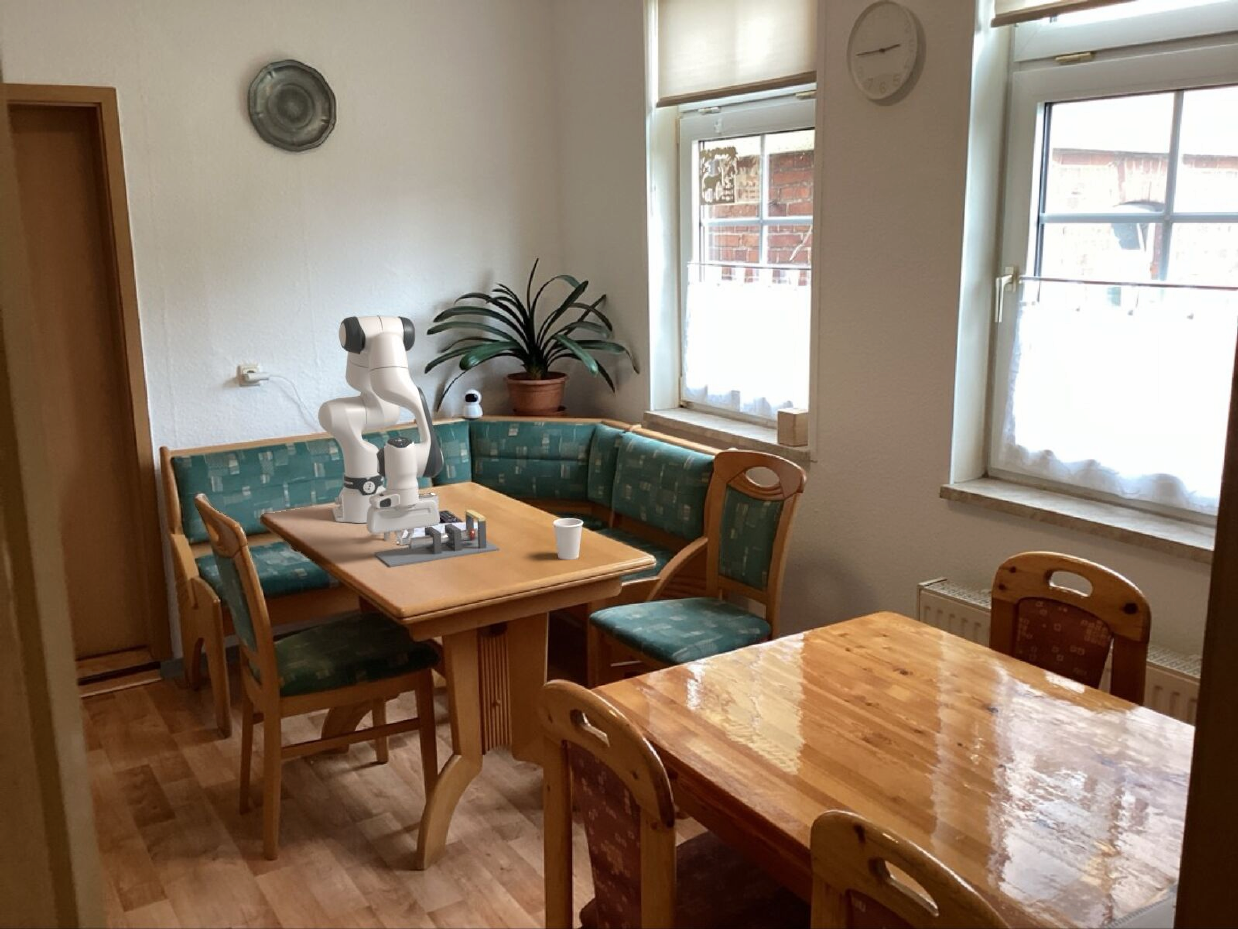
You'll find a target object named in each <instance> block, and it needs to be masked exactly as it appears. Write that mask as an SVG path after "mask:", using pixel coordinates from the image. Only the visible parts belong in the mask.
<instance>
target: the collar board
mask: <svg viewBox="0 0 1238 929" xmlns="http://www.w3.org/2000/svg"><path fill="white" fill-rule="evenodd" d="M464 513H465V514H464V515H465V530H468V529H471V528H473V529H475V522H474V520H476V522H477V530H478V539H477V540H474V541H464V542H461V530H462V529H461V528H459V527H457V526H455V525H454V524H452V523H448V524H444V533H448V532H453V543H450V544H444V545H441V533H442V532H440V531H439V530H437V529H435V527H434V526H429V527H424V536H427V535H433V546H431V547H424V548H418V549H410V548H409V546H408V547H401V548H396V549H395V548H393V549H388V550H387V549H386V550H382V551H380V550H379V551H375V552H373V555H375V557H377V558H378V559H379V560H380V561H382V562H383V563H384V564H385V565H386V566H387V567H389V568H394V567H400V566H404V565H407V566H408V565H413V564H418V563H423V562H431V561H438V560H444V559H450V558H456V557H463V556H469V555H476V554H481V553H487V552H488V553H489V552H494V551H499V550H500V547H498V546H497V545H495V544H493V543H492V542H490V541H488V540H487V523H486V521H487V520H486V516H484V515H482V514H480V513H479V512H477V511H475V510H473V509H466V510H465V512H464Z"/></svg>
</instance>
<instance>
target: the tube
mask: <svg viewBox="0 0 1238 929" xmlns="http://www.w3.org/2000/svg"><path fill="white" fill-rule="evenodd" d="M477 539H478V528H475V527H474V529H473V528H471V529H468V530H466V529H463V530H462V529H461V542H464V541H474V540H477ZM410 541H411V544H410V545H407V546H408V547H409V548H410V549H418V548H424V547H431V546H433V535H427V536H425V535H421V536H415V537H411V539H410ZM450 543H453V532H448V533H445V532H441V545H444V544H450Z"/></svg>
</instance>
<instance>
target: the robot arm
mask: <svg viewBox="0 0 1238 929" xmlns="http://www.w3.org/2000/svg"><path fill="white" fill-rule="evenodd" d="M338 339H339V343H340V345H341V347H342V349H344V350H345V352H347V357H346V366H345V381H346V382H347V384H348V385H349V386H350V387H351V389H354V390H356V391H358V392H360V394H359V395H357V396H347V397H337V398H334V399H330V400H327V401H325V402H323V403H322V404H321V406H319V409H318V413H317V419H318V423H319V425H320V427H321V428H322V430H324V431H325V432H326V433H328V434H329V435H331V436H332V437H333V438H334V439H335V440H336V442H337V443H338V444H339V447H340V450H341V451H342V456H343V457H342V458H343V465H344V475H343V488H342V490H341V491H340V493H339V494H338V497H337V496H336V497H334V504H335V505H336V507H333V508H332V514H333V517H334V520H335V522H340V523H341V522H342V523H357V524H358V523H359V524H360V523H361V524H362V523H363V524H364V523H366V529H367V531H368V532H369V533H370V534H371V535H378V534H384V533H386V532H390V533H392V532H394V534H395V536H396V538H397V539H398V545H399V546H400V547H402V546H408V545H410V544H411V541H410V539H411V538H413V535H414V533H415V529H421V528H425V527H434V526H438V525H439V523H441V519H440V516H441V515H440V511H439V510H440V509H439V504H440V502H439V496H438V494H435V493H434V492H429V493H428V492H427V493H419V482H418V479H417V478H422V479H423V478H426V479H427V478H430V479H433V478H435V477H436V476H437V475H439V474H440V473H441V471H442V470H443V469H444V456H443V452H442V449H441V448H440V447H441V446H440V445H439V442H438V438H437V434H436V431H435V428H434V425H433V421H432V416H431V414H430V410H429V407H428V406H429V405H428V403H427V399H426V396H425V394H424V392H423V390H422V388H421V387H419V386H417V385H415V383H414V381H413V380H412V379H411V374H410V370H409V362H408V357H407V356H408V354H407V352H408V351H411V350H412V348H413V347H414V346H415V341H416V329H415V325H414V323H413V322H412V320H411V319H410V318H407V317H404V316H400V315H399V316H392V315H378V314H377V315H365V316H364V315H363V316H356V315H355V316H348V317H345V318H344V319H343V320H342V321H341V323H340V325H339V329H338ZM400 407H402V408H404V409H407V410H408V411H409V412H410V413H412V414H413V416H414V418H415V421H416V425H417V429H418V432H419V436H420V440H421V441H420V442H418V443H415V442H414V439H412V438H410V437H407V436H393V437H390V438H389V439H387V440H386V442H385V445H384V446H382V447H381V448H380V449H379V448H378V447H377V446H376V444H373V443H371V442H369V441H366V440H364V439H363V437H362V435H363V434H362V432H367V431H375V430H383V429H385V428H386V429H387V428H389V427H392V426H395V425H396V424H397V423H398V421H399V419H400V415H401V408H400ZM384 479H386V483H385V487H384V485H383V484H384ZM402 531H407V534H406V537H402V536H401V535H402Z"/></svg>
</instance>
